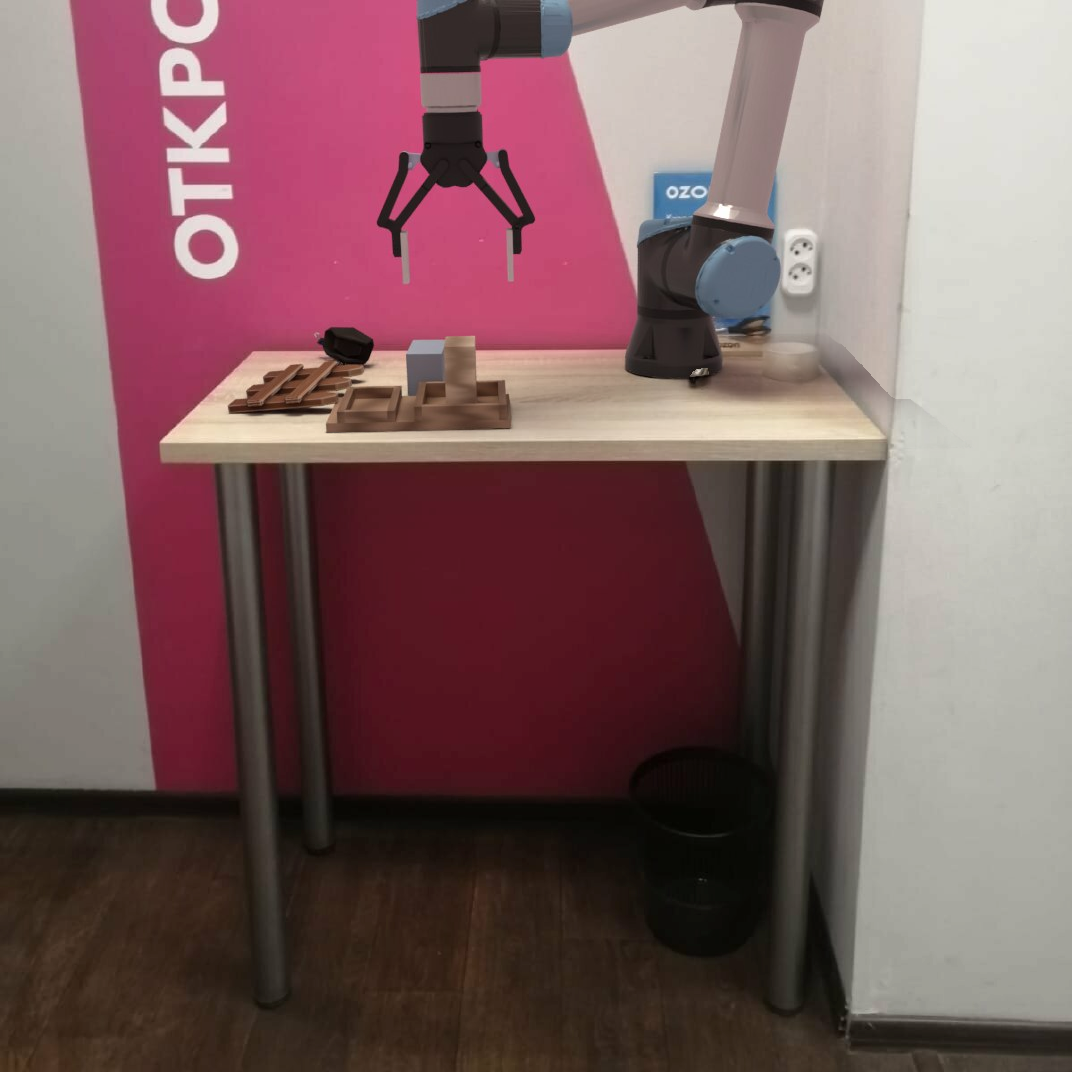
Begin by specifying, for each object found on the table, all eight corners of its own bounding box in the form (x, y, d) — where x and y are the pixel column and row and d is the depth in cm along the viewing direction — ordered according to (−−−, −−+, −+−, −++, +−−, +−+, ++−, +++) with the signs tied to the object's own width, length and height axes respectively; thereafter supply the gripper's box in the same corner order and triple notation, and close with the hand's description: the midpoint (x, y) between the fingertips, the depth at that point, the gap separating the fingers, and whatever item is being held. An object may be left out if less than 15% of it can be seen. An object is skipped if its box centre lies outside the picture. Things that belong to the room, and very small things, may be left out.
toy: (368, 341, 213) (383, 333, 198) (359, 378, 213) (373, 373, 198) (314, 326, 210) (325, 317, 196) (305, 364, 210) (315, 357, 196)
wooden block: (477, 400, 175) (475, 335, 172) (476, 413, 168) (474, 346, 165) (448, 401, 175) (445, 336, 172) (446, 414, 168) (443, 346, 165)
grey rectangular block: (448, 386, 189) (447, 339, 187) (443, 402, 180) (441, 353, 177) (415, 386, 189) (413, 339, 187) (408, 403, 180) (405, 354, 177)
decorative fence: (226, 415, 174) (333, 407, 172) (224, 403, 173) (331, 394, 172) (271, 377, 195) (367, 369, 194) (270, 366, 195) (365, 358, 193)
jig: (509, 402, 179) (508, 380, 178) (510, 428, 166) (510, 404, 165) (338, 405, 178) (336, 383, 177) (326, 432, 165) (324, 408, 164)
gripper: (550, 107, 162) (552, 274, 170) (354, 111, 162) (365, 279, 169) (552, 108, 155) (555, 283, 163) (348, 113, 155) (360, 288, 162)
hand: (458, 281), depth 166 cm, fingers open, 13 cm apart
